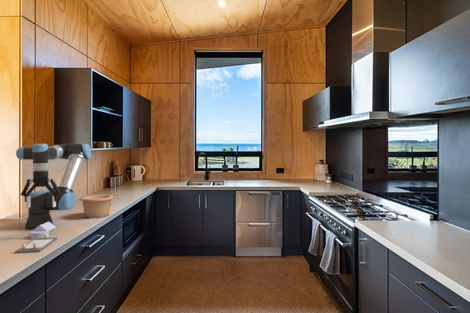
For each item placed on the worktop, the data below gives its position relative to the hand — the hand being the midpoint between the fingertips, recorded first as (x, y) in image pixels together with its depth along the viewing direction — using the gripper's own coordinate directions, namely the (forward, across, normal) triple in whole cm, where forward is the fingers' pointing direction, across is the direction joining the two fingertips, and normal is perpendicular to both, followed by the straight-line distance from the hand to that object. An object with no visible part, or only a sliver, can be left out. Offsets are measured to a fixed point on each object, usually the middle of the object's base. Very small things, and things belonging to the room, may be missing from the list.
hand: (41, 207), depth 176 cm
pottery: (+16, +17, +48) cm, 54 cm away
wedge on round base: (+17, 0, 0) cm, 17 cm away
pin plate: (+17, +6, -19) cm, 26 cm away
